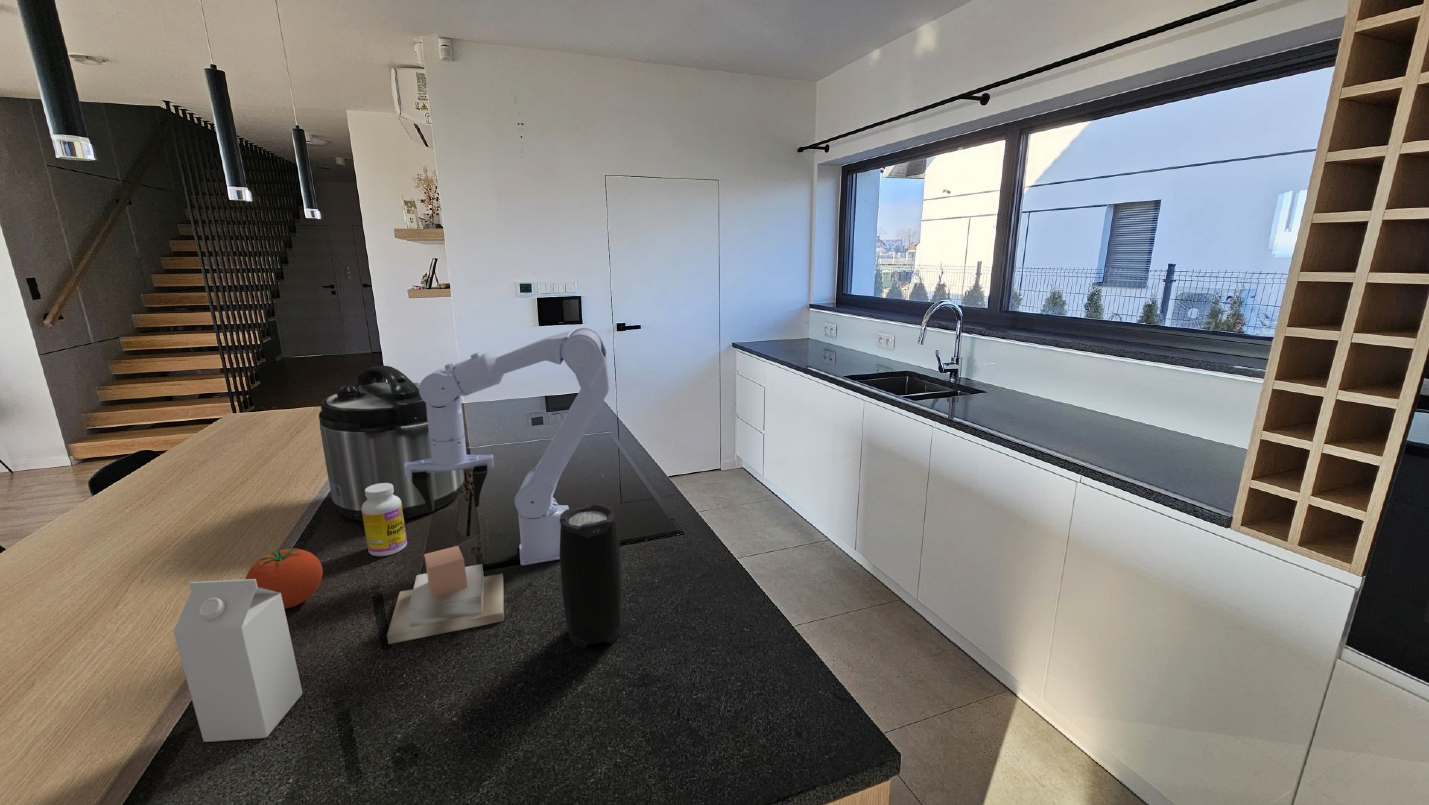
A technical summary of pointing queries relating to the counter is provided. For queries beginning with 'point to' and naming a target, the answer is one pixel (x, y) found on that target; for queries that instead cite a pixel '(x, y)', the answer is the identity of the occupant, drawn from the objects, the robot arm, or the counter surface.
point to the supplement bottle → (383, 520)
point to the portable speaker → (591, 574)
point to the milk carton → (237, 659)
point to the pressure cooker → (380, 443)
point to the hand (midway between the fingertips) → (454, 507)
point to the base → (448, 625)
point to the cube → (445, 571)
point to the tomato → (288, 574)
